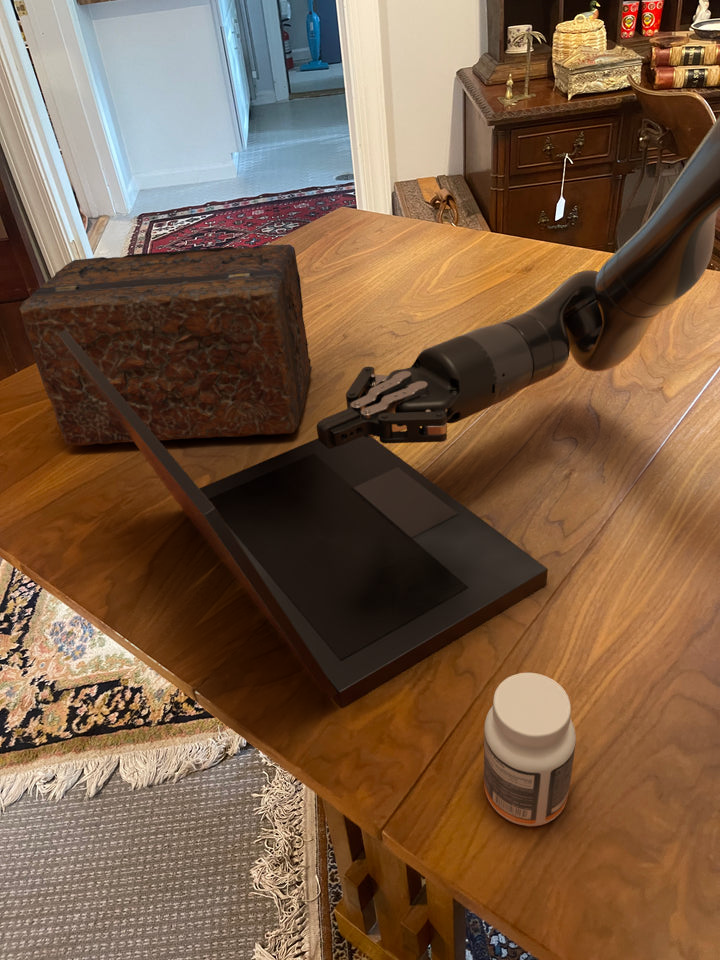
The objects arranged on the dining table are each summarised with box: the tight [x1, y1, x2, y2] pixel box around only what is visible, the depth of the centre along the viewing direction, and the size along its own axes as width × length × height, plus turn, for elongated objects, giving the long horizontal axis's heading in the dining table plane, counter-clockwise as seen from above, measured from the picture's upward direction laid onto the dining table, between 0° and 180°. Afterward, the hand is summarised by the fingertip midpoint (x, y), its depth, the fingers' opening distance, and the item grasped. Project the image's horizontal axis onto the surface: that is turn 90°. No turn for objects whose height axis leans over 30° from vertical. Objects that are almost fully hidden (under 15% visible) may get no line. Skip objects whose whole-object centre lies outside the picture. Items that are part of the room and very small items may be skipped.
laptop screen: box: [58, 330, 337, 700], centre depth 60 cm, size 22×32×1 cm
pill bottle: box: [483, 672, 577, 827], centre depth 48 cm, size 6×6×10 cm
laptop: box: [198, 436, 549, 709], centre depth 72 cm, size 22×32×2 cm
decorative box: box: [19, 244, 313, 447], centre depth 91 cm, size 31×20×20 cm
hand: (322, 436), depth 64 cm, fingers closed
